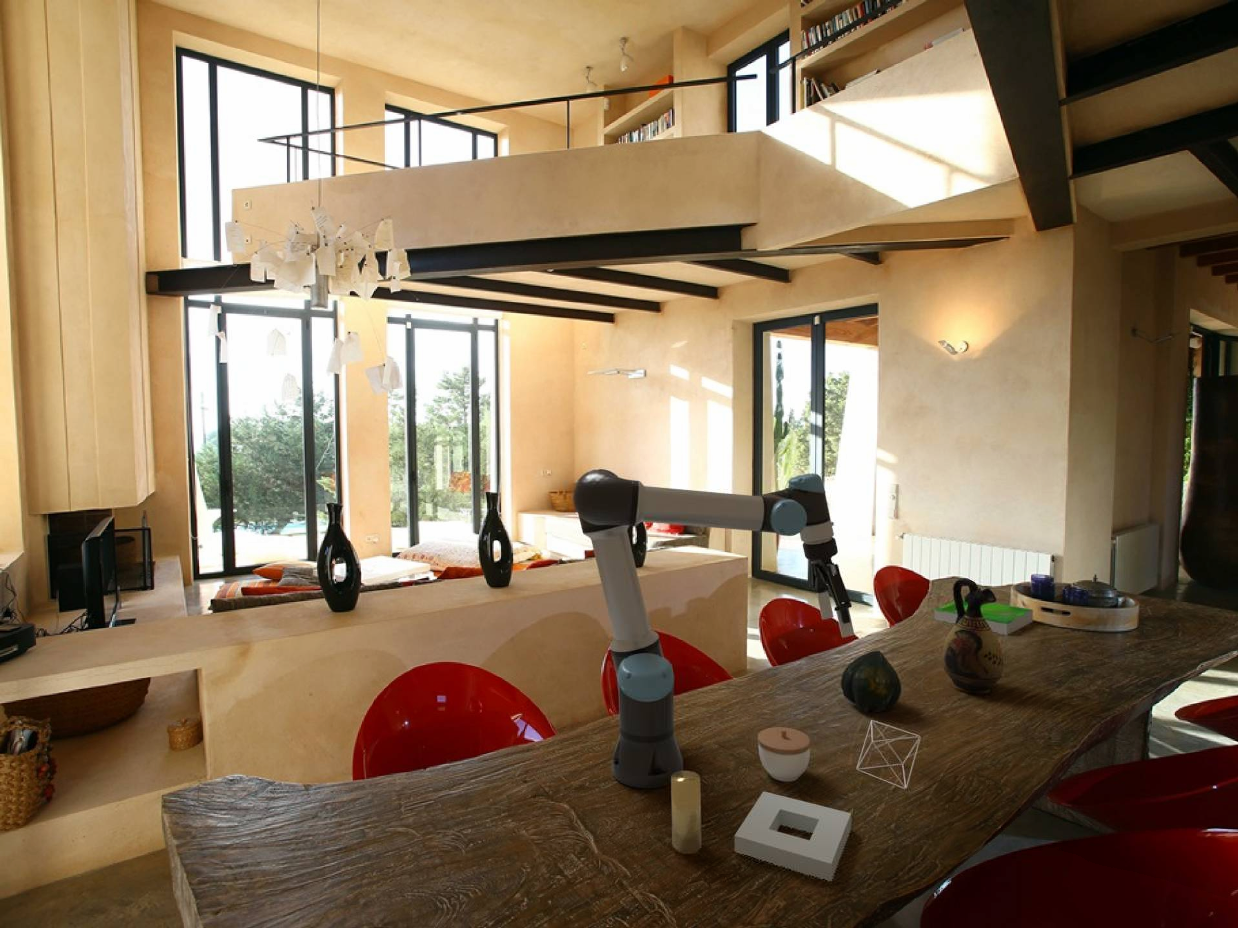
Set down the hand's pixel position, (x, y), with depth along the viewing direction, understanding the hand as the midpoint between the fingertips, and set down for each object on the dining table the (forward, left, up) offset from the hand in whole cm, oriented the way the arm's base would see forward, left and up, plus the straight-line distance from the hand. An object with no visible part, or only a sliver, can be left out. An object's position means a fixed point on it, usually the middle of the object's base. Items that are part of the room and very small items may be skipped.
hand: (837, 626), depth 156 cm
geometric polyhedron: (+13, -15, -26) cm, 32 cm away
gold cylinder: (-14, -57, -26) cm, 64 cm away
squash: (+4, +20, -26) cm, 33 cm away
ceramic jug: (+26, +46, -26) cm, 59 cm away
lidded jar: (-6, -25, -26) cm, 36 cm away
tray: (+28, +121, -26) cm, 127 cm away
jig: (+2, -47, -26) cm, 53 cm away
